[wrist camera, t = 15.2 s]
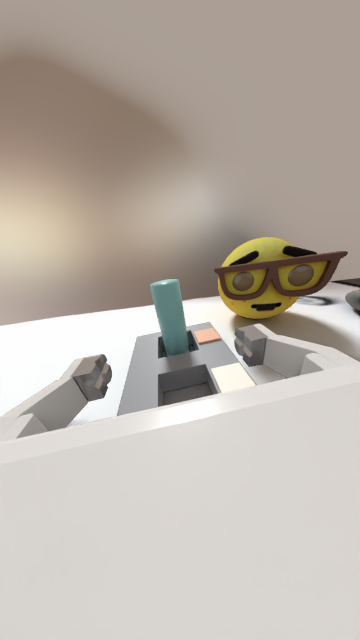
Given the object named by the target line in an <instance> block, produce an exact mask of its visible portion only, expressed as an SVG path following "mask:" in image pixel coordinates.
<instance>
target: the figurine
mask: <svg viewBox="0 0 360 640" xmlns="http://www.w3.org/2000/svg"><path fill="white" fill-rule="evenodd" d="M345 299H346V301H347V302H348V303H349V304H350V305H351V306H353V307H354V308H356V309H358V310H360V290H355V291H352V292H350V293H348V294H347V295H346V297H345Z"/></svg>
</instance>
